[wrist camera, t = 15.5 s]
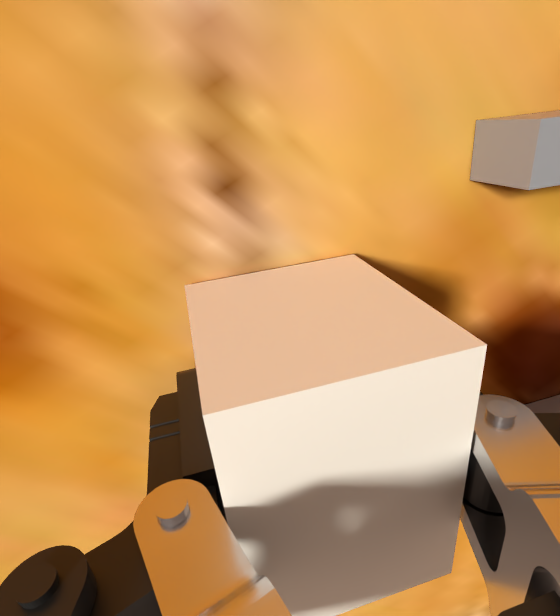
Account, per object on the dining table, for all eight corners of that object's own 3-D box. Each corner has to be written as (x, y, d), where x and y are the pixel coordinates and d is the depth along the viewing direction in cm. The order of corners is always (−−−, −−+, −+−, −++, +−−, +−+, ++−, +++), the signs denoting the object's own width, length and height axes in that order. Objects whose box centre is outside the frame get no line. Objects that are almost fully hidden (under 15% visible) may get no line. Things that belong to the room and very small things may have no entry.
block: (353, 254, 11) (486, 344, 6) (355, 425, 13) (451, 572, 9) (184, 285, 10) (202, 415, 5) (223, 461, 12) (255, 644, 8)
